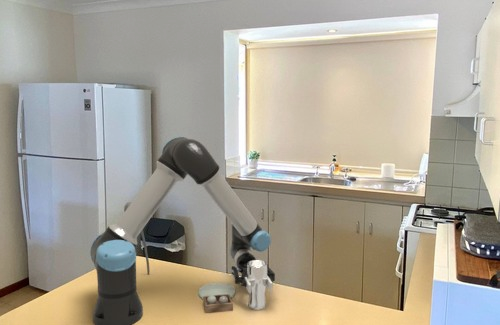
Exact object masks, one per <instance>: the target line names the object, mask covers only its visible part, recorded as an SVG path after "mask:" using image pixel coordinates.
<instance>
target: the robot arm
mask: <svg viewBox="0 0 500 325" xmlns="http://www.w3.org/2000/svg"><path fill="white" fill-rule="evenodd" d="M156 166H157V167H156V169H155V170H154V171H153V173H152V174H151V176H150V177H149V178H148V180H147V181H146V183H145V184H144V185H143V186H142V187H141V189H140V191H139V192H138V193H137V194H136V196H135V197H134V199H132V201H131V202H132V203H131V204H130V205H129V207H128V208H127V210H126V211H125V212H124V211H123V214H122V215H121V216H120V218H119V219H118V220H117V222H116V223H114V224H109V225H108V226H107V228H106V229H105V230H104V232H102V233H100V234H98V235H97V236H96V237H95V238H94V239H93V241H92V243H91V245H90V253H89V254H90V258H91V261H92V262H93V264H94V267H95V270H96V276H97V277H96V278H97V298H96V301H95V305H94V308H93V311H92V321H93V323H94V324H95V325H133V324H135V323H136V322H138V321H139V320H141V318H142V317H143V315H144V314H143V313H144V307H143V303H142V302H141V301H142V300H141V298H140V296H139V293H138V290H137V251H136V247H137V245H138V236H139V235H141V233H140V232H141V231H142V229H143V230H144V228H145V227H146V225H147V224H148V223H149V221H150V219H151V218H152V216H153V215H154V214H155V213H156V212H157V210H158V209H159V207H160V206H161V205H162V203H163V202H164V200H165V199H166V197H167V196H168V195H169V193H170V192H171V190H172V189H173V188H174V187H175V185H176V183H178V182H181V181H184V180H185V178H186V177H187V176H189V177H190V178H191V179H193V182H195V184H196V185H198V186H202V187H203V189H204V190H205V191H206V193H207V194H208V195H209V196H210V198H211V199H212V200H213V201H214V203H215V204H216V205H217V207H218V208H219V209H220V210H221V211H222V213H223V214H224V215H225V217H226V218H227V219H228V220H229V222H230V223H231V224H230V225H231V246H230V247H229V248H230V249H229V252H230V253H229V254H230V255H231V258H232V259H233V262H234V263H235V265H236V266H231V275H233V278H234V283H235V285H239V284H240V286H241V287H242V288H246V291H247V293H248V294H249V293H251V284H250V282H249V280H247V263H248V262H249V261H251V260H257V259H256V257H255V255H254V254H253V253H252V250H254V251H257V252H259V253H260V252H261V253H262V252H265V251H266V250H268V249H269V247H270V246H271V243H272V237H271V235H270V234H269V233H268V232H267V231H266V230H264V229H262V227H261V225H259V223H258V222H257V221H256V219H255V218H254V217H253V215H252V213H251V212H250V211H249V210H248V209H247V207H246V206H245V204H244V203H243V202H242V200H241V199H240V198H239V196H238V195H237V194H236V192H235V191H234V190H233V188H232V187H231V185H230V184H229V182H227V180H226V179H225V177H224V176H223V174H222V173H221V172H220V170H221V168H220V165H219V164H218V163H217V162H216V160H215V159H214V158H213V156H212V154H211V153H210V152H209V150H208V149H207V148H206V146H205V145H203V143H201V142H200V141H198V140H196V139H192V138H188V137H184V136H177V137H174V138H171V139H169V140H167V142H165V143H164V146H163V147H162V151H161V155H160V156H159V157H158V159H157V161H156ZM251 248H252V250H251ZM239 273H240V274H241V276H239ZM275 275H276V274H275V272H274V271H273V270H272V269H271V268H270V267H269V264H268V263H267V285H266V288H267V289H268V290H269V292H273V285H274V282H275V280H276V276H275Z"/></svg>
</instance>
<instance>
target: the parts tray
mask: <svg viewBox="0 0 500 325" xmlns="http://www.w3.org/2000/svg"><path fill="white" fill-rule="evenodd" d="M213 296H215V297H216V300H217V301H216V303H215V304H211V305H209V304H208V303H207V298H208V297H209V296H203V299H202V300H203V308H204V311H205V314H211V313H220V312H231V311H232V312H233V310H234V302H233V300H232V298H231V297H230V294H223V295H213ZM221 296H226V297H227V298H228V303H221V304H219V298H220V297H221Z"/></svg>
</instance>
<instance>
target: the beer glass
mask: <svg viewBox="0 0 500 325" xmlns="http://www.w3.org/2000/svg"><path fill="white" fill-rule="evenodd" d="M267 264H268V263H267V261H265V260H261V259H256V260H251V261H249V262H248V263H247V280H249V282H250V284H251V293H248V296H249V297H248V302H247V306H248V308H249V309H251V310H254V311H261V310H264V309H265V308H266V306H267V304H266V289H267Z"/></svg>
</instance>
